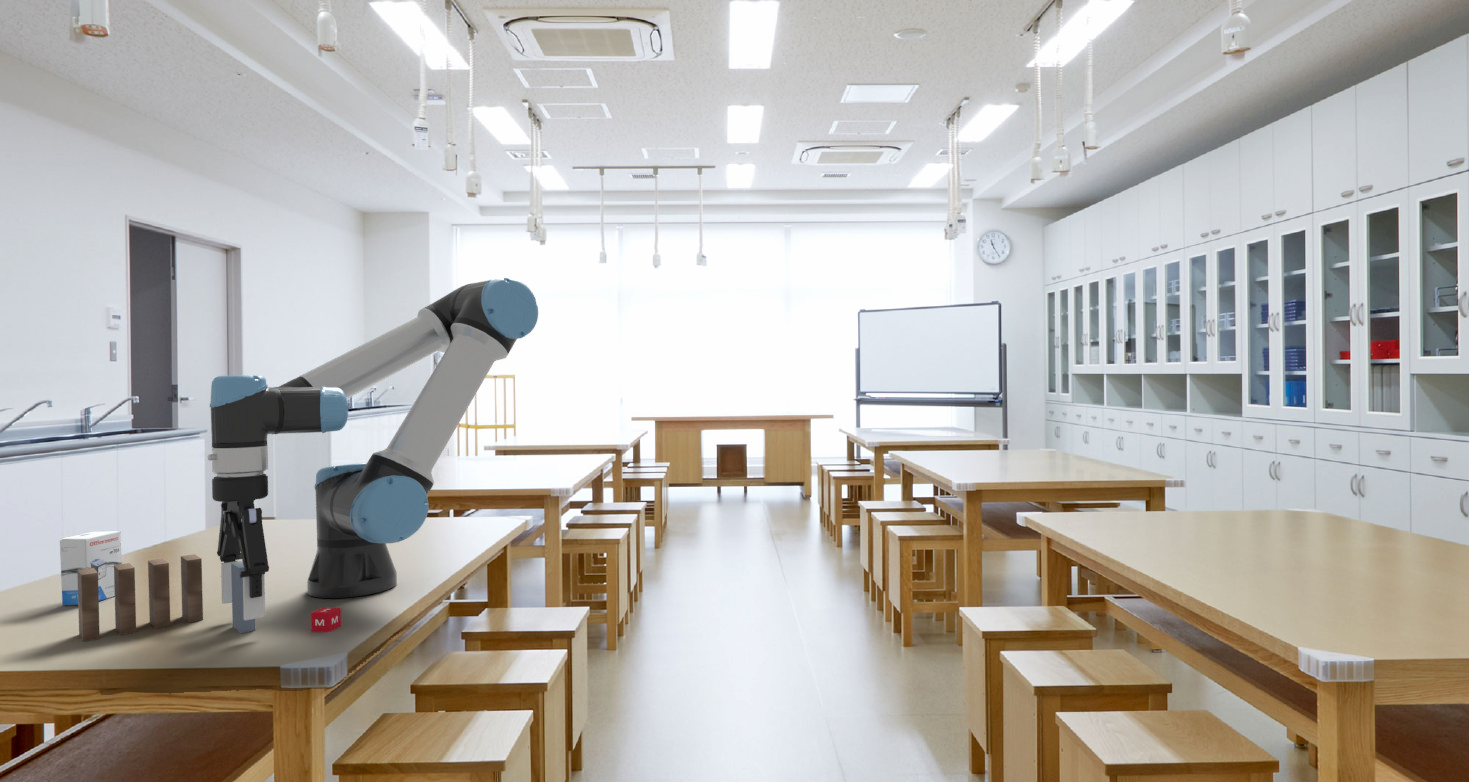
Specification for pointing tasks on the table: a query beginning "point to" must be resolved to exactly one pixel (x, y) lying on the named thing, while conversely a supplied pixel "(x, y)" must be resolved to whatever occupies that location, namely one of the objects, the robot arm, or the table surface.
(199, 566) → the domino
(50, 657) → the table surface
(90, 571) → the end domino
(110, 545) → the ink box
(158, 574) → the domino
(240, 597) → the domino
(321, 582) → the robot arm
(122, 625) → the domino
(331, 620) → the red letter cube
